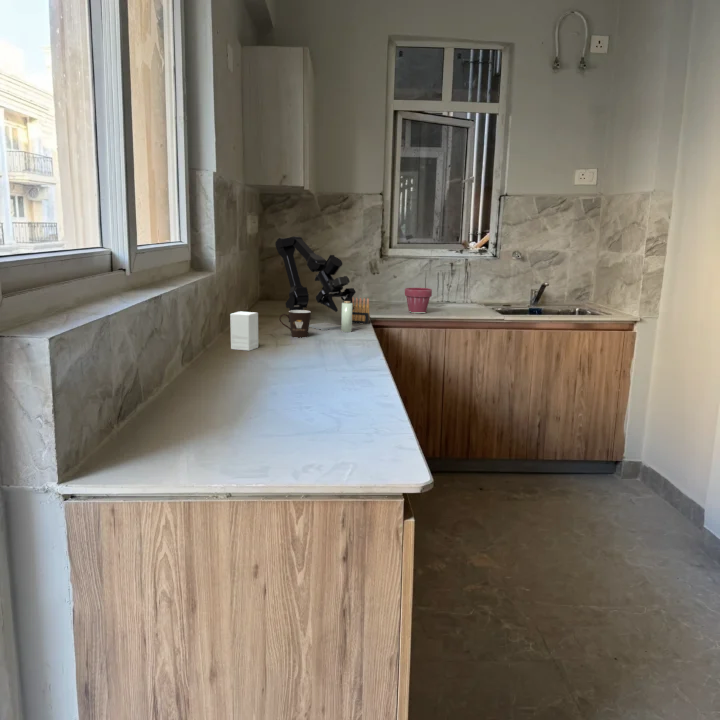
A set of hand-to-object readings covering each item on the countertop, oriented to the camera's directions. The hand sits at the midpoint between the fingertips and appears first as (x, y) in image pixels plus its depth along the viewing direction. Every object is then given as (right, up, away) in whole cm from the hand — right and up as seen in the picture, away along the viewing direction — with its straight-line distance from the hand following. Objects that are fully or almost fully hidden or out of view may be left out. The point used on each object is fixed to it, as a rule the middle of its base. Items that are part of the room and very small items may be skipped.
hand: (345, 310), depth 259 cm
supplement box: (-34, -17, -42) cm, 57 cm away
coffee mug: (-19, -12, -14) cm, 26 cm away
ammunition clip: (+5, -4, +26) cm, 27 cm away
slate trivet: (-9, -7, +9) cm, 15 cm away
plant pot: (+37, +4, +69) cm, 78 cm away
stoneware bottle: (+1, -9, +1) cm, 9 cm away
